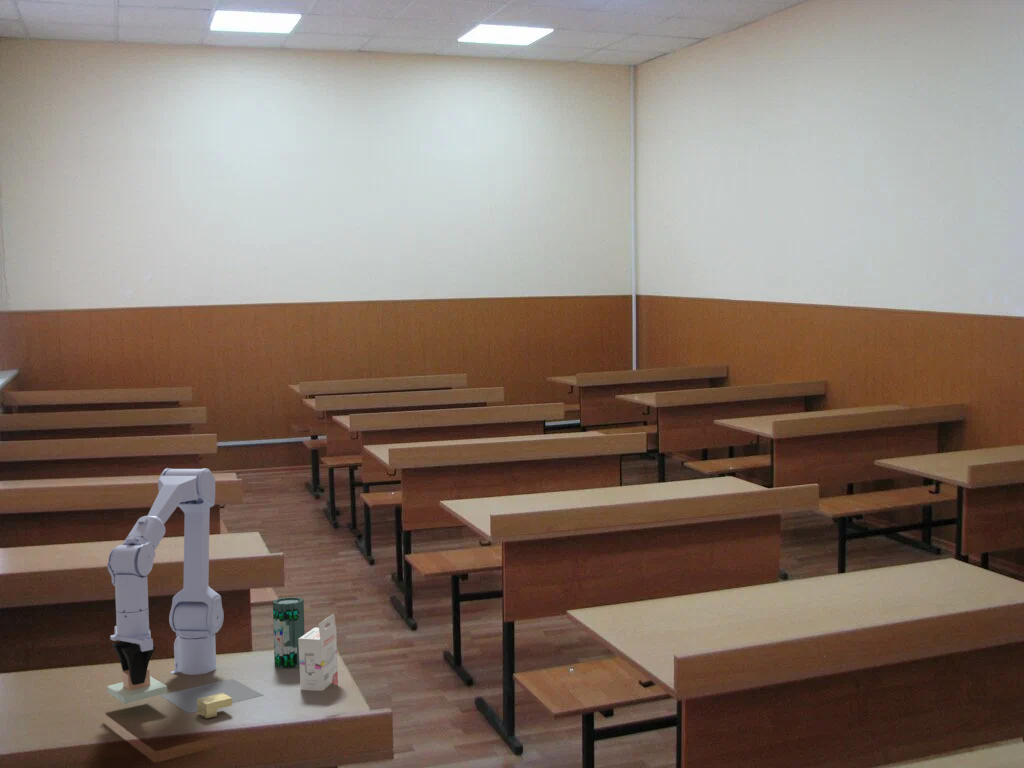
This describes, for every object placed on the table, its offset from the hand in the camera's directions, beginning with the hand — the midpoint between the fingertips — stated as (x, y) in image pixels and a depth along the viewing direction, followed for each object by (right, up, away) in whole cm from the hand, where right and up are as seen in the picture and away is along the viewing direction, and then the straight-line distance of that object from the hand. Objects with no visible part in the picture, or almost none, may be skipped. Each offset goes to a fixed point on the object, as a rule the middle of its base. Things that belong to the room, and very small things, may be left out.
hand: (134, 681), depth 200 cm
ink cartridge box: (+32, -6, +13) cm, 35 cm away
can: (+23, -6, +27) cm, 36 cm away
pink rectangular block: (0, -2, 0) cm, 2 cm away
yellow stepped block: (+16, -5, -3) cm, 17 cm away
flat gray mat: (+12, -6, +8) cm, 16 cm away
